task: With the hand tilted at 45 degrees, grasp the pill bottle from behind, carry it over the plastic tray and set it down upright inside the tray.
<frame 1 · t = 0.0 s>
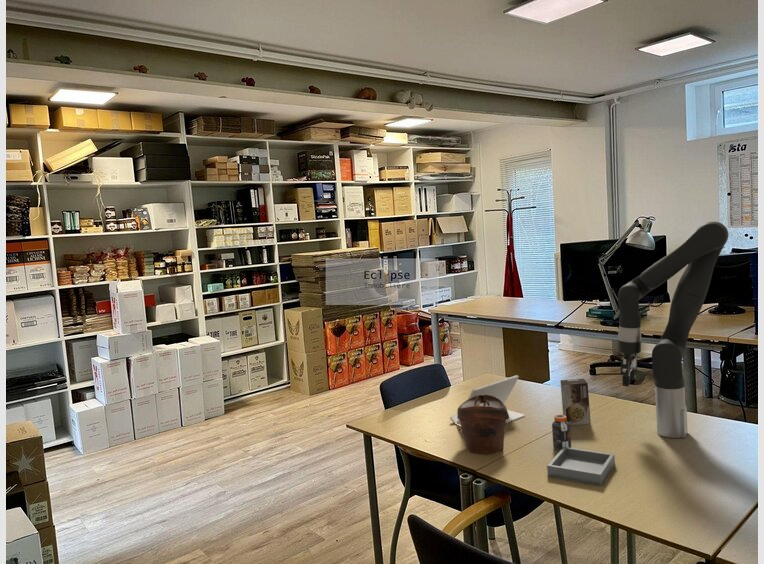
hand: (628, 382, 207), 17 cm above the table, tool pointing down, fingers open, 8 cm apart
tray: (581, 470, 180), on the table
tablet stand: (487, 420, 233), on the table
brown tapered container: (484, 447, 205), on the table
pill bottle: (562, 448, 198), on the table
coffee box: (576, 422, 221), on the table
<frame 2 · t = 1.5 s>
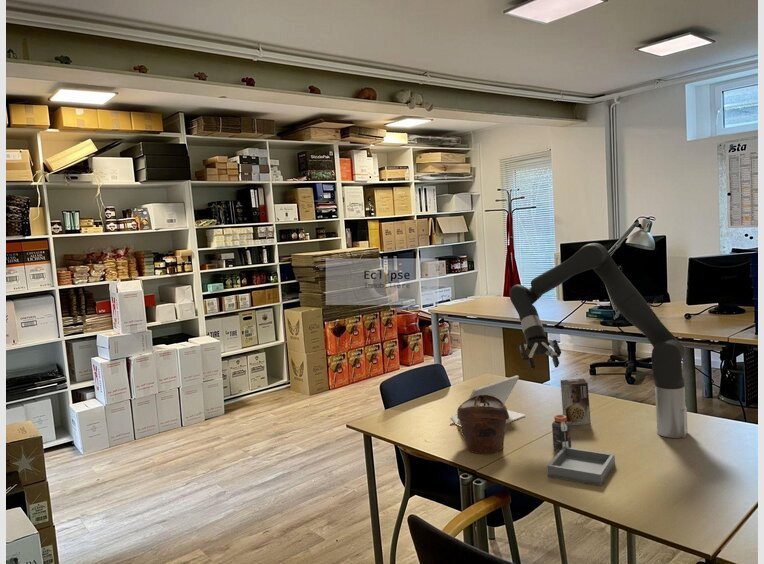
hand: (545, 367, 207), 25 cm above the table, tool tilted 45°, fingers open, 8 cm apart
nothing on the table moved.
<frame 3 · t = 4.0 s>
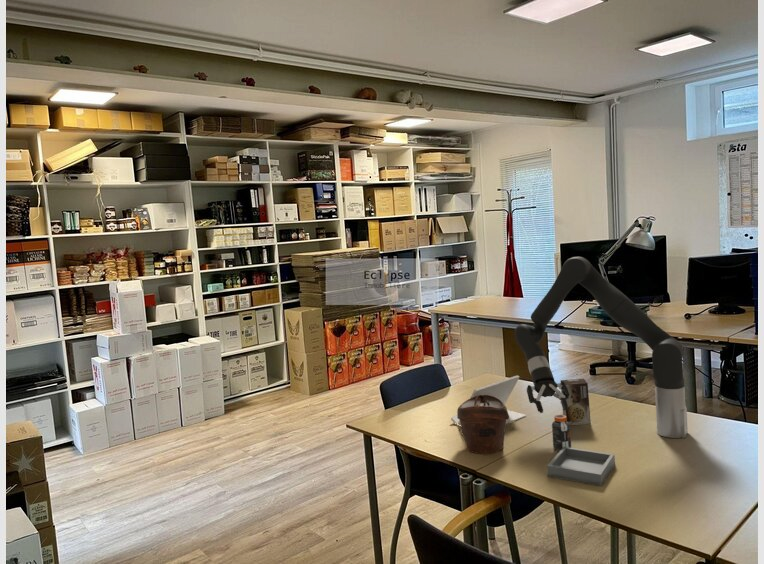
hand: (553, 410, 203), 11 cm above the table, tool tilted 45°, fingers open, 8 cm apart
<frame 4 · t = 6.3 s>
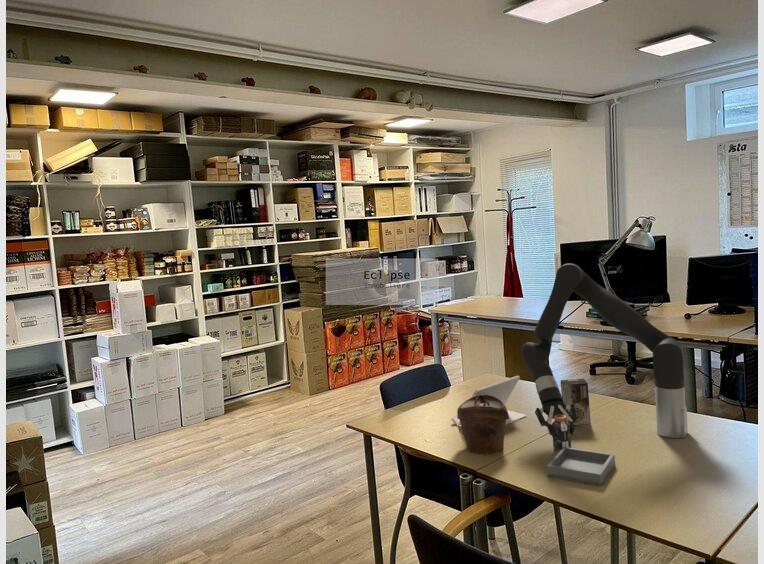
hand: (563, 434, 196), 5 cm above the table, tool tilted 45°, fingers closed on pill bottle, 6 cm apart
pill bottle: (562, 448, 198), on the table, touching gripper
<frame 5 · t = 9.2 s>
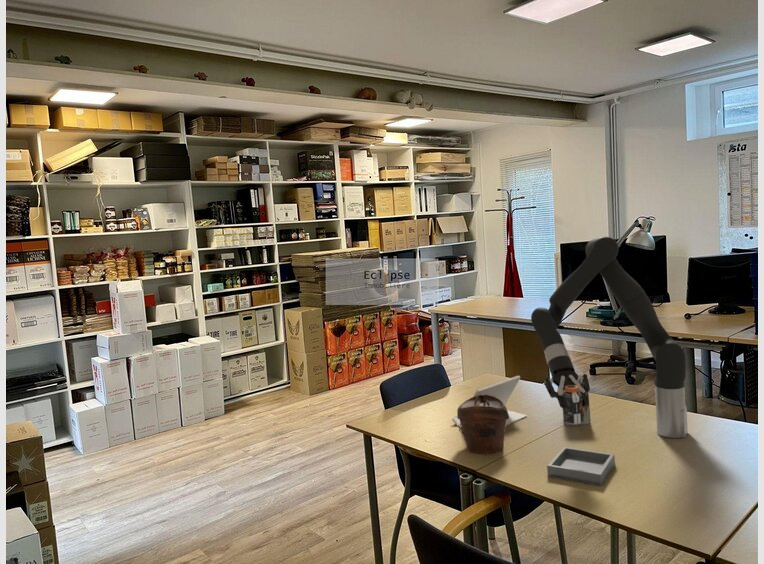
hand: (575, 406, 179), 20 cm above the table, tool tilted 45°, fingers closed on pill bottle, 6 cm apart
pill bottle: (573, 421, 182), point 15 cm above the table, touching gripper
when the fingers open (8 cm above the table, at t = 12.4 s): pill bottle drops 1 cm, resting on tray.
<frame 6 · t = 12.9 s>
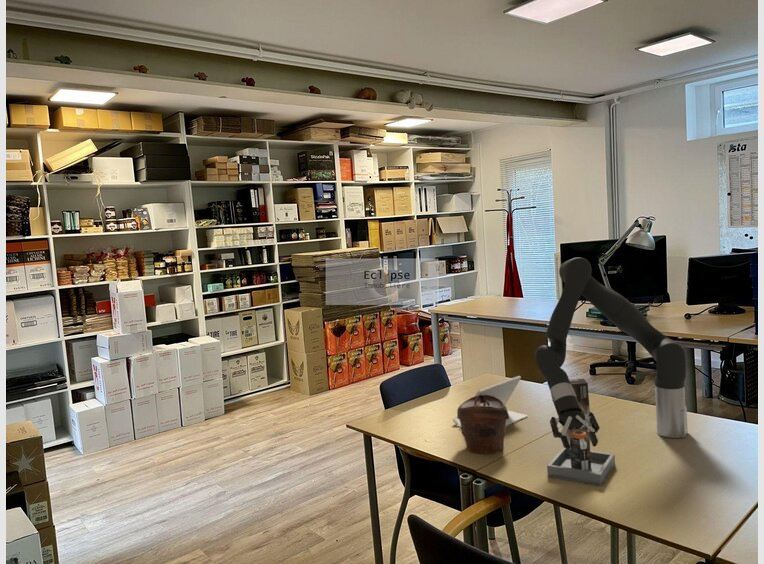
hand: (582, 447, 177), 8 cm above the table, tool tilted 45°, fingers open, 8 cm apart
pill bottle: (581, 467, 180), point 1 cm above the table, touching tray
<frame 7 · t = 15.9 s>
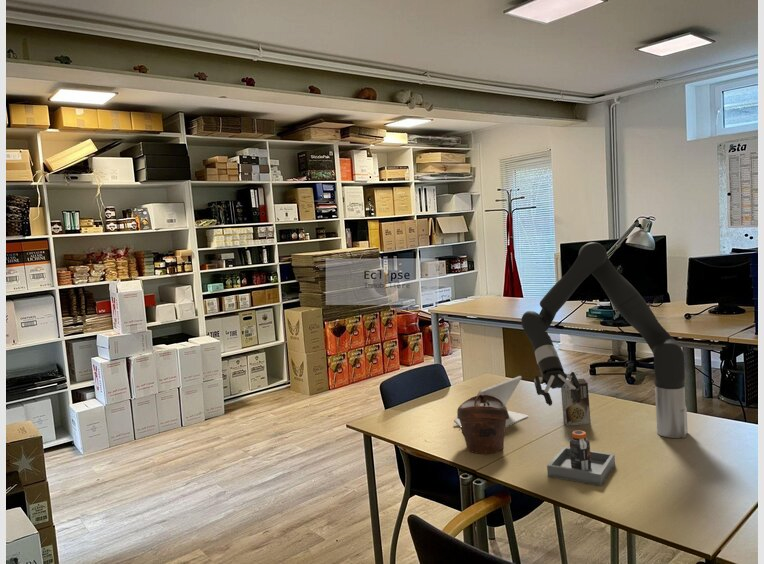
hand: (563, 403, 189), 18 cm above the table, tool tilted 45°, fingers open, 8 cm apart
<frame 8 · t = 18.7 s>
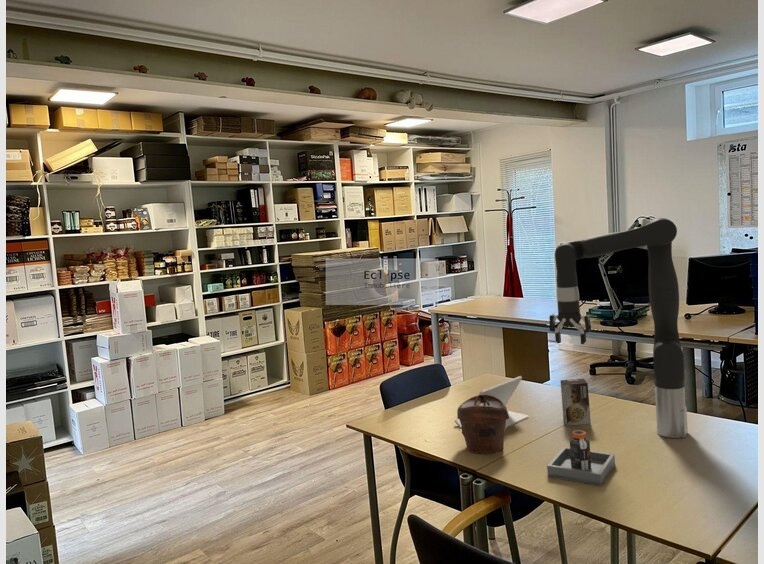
hand: (570, 343, 208), 33 cm above the table, tool pointing down, fingers open, 8 cm apart
at the end: pill bottle inside the target area on the tray (0.2 cm from its centre), point 0.8 cm above the tray's base; pill bottle tilted 0°; the gripper is holding nothing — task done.
